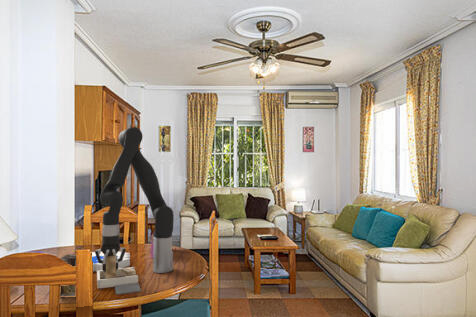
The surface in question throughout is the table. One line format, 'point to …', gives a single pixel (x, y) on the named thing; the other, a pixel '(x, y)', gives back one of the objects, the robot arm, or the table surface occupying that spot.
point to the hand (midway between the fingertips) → (110, 271)
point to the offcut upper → (128, 271)
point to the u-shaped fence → (115, 279)
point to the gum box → (152, 245)
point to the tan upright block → (110, 267)
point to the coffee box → (68, 289)
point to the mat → (127, 288)
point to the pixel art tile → (121, 264)
